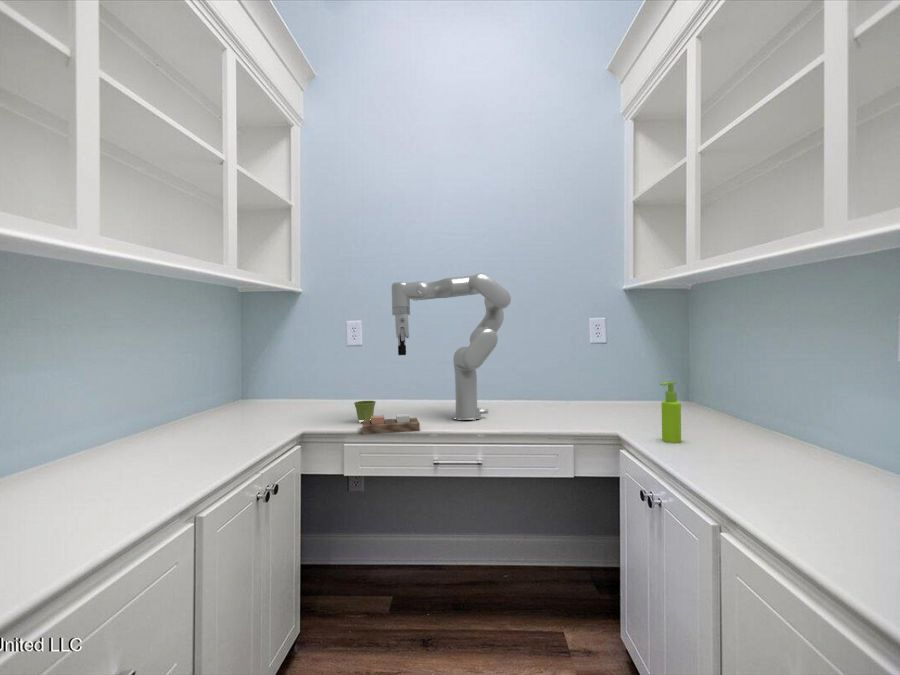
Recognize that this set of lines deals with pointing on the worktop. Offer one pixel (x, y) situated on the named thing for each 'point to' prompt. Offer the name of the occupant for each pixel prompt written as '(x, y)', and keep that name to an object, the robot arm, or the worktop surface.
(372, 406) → the plant pot
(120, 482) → the worktop surface
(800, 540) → the worktop surface
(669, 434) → the soap dispenser
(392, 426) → the brown rectangular frame
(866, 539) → the worktop surface
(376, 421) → the terracotta key
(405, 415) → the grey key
